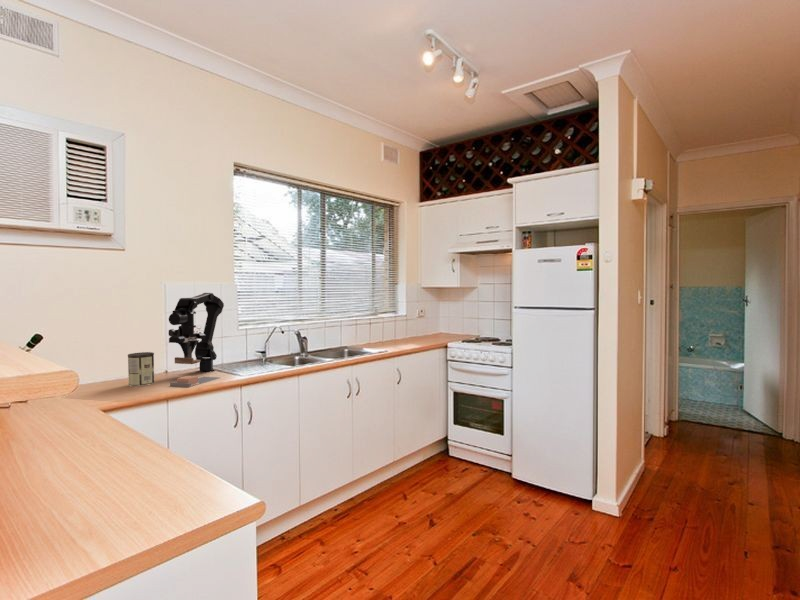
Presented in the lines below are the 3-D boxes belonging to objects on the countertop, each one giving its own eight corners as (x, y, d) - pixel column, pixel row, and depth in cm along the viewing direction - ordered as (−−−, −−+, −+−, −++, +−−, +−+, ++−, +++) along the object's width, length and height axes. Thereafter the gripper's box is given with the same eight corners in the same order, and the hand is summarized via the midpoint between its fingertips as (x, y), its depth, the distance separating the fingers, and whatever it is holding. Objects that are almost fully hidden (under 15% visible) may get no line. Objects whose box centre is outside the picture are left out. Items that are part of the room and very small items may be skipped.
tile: (186, 382, 205) (186, 375, 205) (198, 383, 204) (197, 376, 204) (177, 385, 200) (177, 378, 200) (188, 385, 198) (188, 379, 198)
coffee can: (138, 382, 208) (138, 352, 208) (159, 382, 207) (159, 352, 207) (122, 387, 198) (122, 355, 198) (144, 387, 197) (143, 355, 197)
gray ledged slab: (204, 377, 219) (203, 373, 219) (221, 378, 217) (221, 374, 217) (170, 386, 198) (170, 382, 198) (189, 387, 196) (189, 383, 195)
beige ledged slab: (183, 361, 224) (182, 345, 223) (200, 362, 221) (199, 345, 221) (174, 363, 218) (174, 347, 218) (192, 364, 216) (191, 347, 215)
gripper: (187, 321, 230) (187, 352, 231) (158, 324, 212) (159, 357, 213) (205, 322, 228) (206, 353, 228) (178, 325, 210) (179, 358, 210)
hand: (187, 355), depth 220 cm, fingers closed on beige ledged slab, 2 cm apart
